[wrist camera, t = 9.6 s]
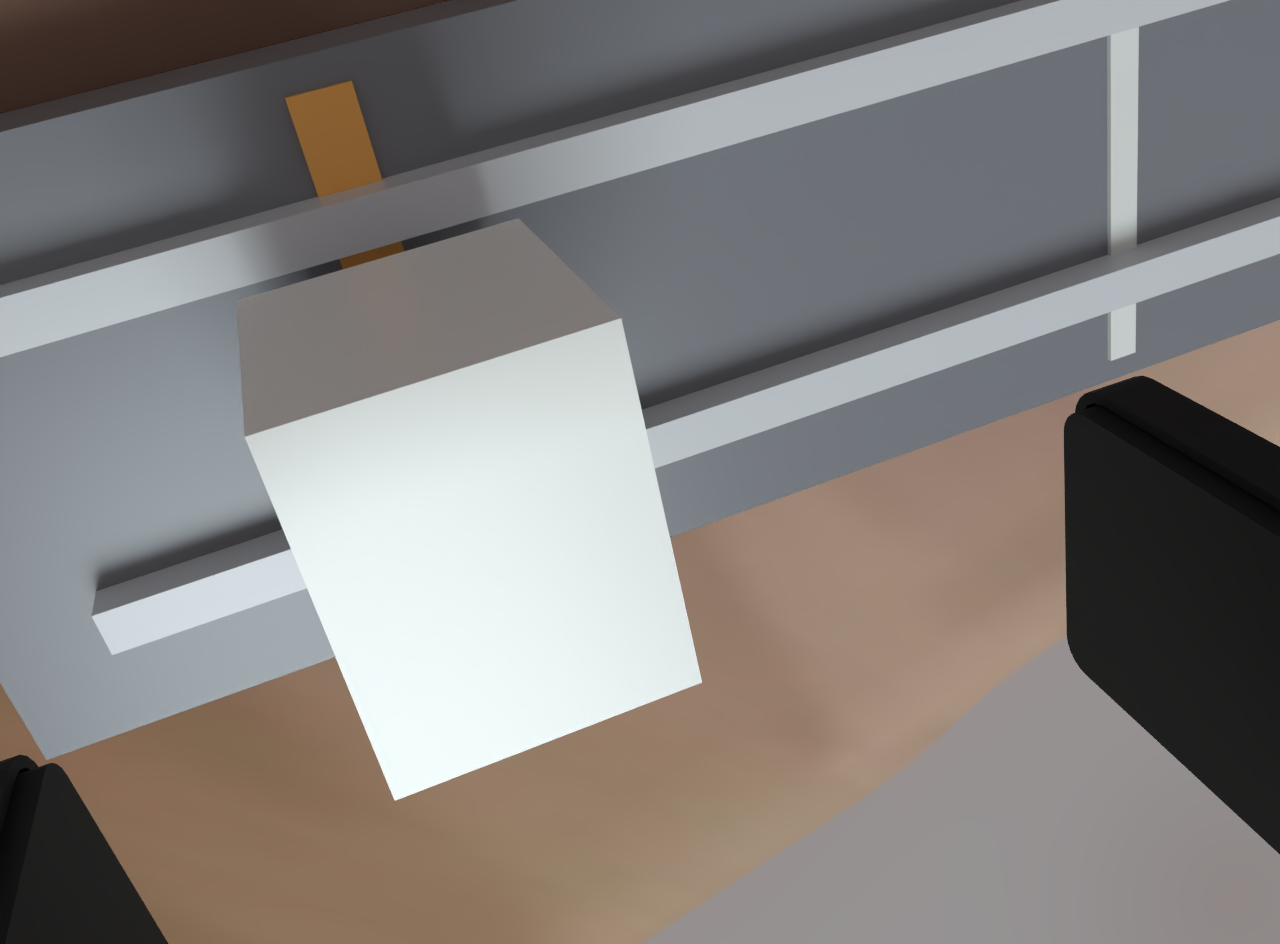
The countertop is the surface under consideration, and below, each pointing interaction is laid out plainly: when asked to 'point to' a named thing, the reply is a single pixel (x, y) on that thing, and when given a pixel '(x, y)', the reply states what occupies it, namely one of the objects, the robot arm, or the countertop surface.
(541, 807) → the countertop surface
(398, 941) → the countertop surface
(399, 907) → the countertop surface
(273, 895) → the countertop surface
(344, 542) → the cap
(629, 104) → the fader console
